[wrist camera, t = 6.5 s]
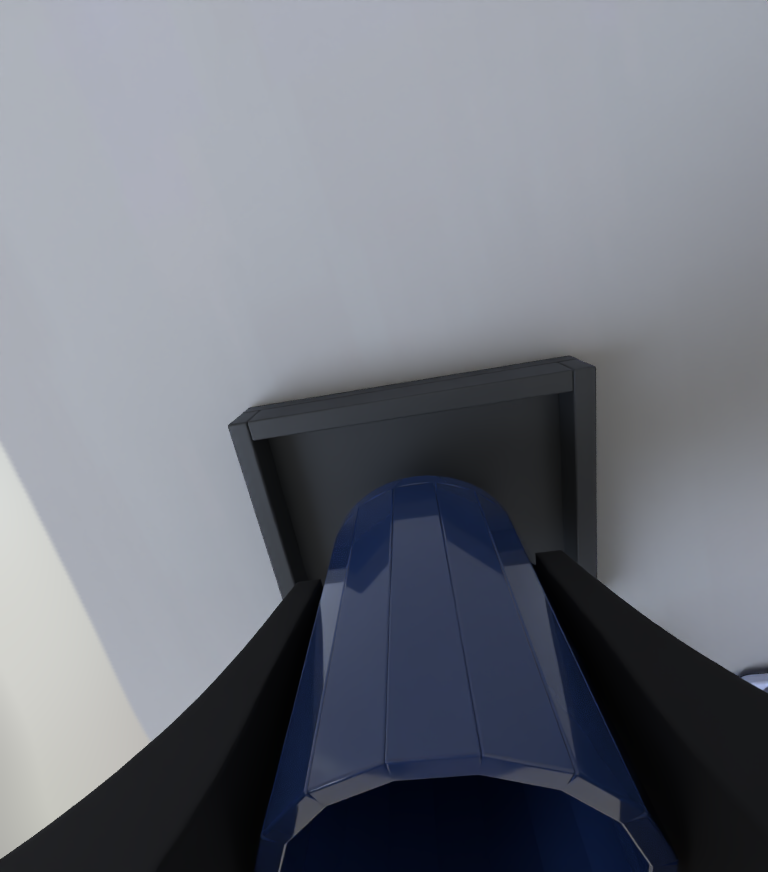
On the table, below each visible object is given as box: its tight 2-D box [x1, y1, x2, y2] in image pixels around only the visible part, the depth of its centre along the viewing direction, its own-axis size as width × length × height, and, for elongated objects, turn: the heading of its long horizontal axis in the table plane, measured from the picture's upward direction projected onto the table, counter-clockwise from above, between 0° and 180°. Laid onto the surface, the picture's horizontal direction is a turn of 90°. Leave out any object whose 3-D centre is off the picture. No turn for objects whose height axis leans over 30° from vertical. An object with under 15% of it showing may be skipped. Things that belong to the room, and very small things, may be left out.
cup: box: [253, 475, 679, 872], centre depth 9 cm, size 5×5×7 cm
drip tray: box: [228, 356, 597, 599], centre depth 14 cm, size 10×9×2 cm
